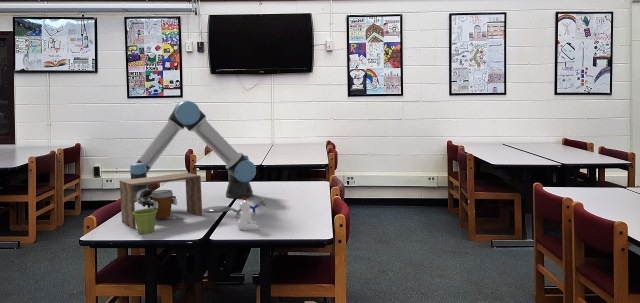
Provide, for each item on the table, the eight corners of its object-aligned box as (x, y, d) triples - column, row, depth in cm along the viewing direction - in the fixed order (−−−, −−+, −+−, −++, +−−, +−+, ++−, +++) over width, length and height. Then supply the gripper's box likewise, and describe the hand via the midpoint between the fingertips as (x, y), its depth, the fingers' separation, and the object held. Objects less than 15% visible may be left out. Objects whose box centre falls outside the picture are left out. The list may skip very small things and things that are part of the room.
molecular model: (267, 213, 220) (264, 192, 220) (271, 213, 212) (268, 191, 213) (230, 220, 214) (227, 199, 214) (233, 220, 206) (229, 198, 207)
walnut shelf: (122, 222, 206) (119, 180, 204) (188, 210, 227) (187, 172, 226) (133, 228, 196) (130, 184, 194) (202, 215, 217) (200, 175, 215)
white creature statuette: (260, 230, 189) (259, 201, 188) (239, 232, 186) (238, 203, 185) (255, 225, 198) (254, 197, 196) (235, 227, 195) (234, 199, 194)
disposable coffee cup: (167, 220, 206) (165, 193, 205) (148, 219, 208) (146, 193, 207) (178, 215, 215) (176, 189, 214) (159, 214, 217) (158, 189, 216)
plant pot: (136, 236, 183) (135, 215, 182) (131, 231, 191) (130, 210, 190) (160, 232, 188) (159, 212, 187) (155, 227, 196) (154, 207, 195)
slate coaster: (231, 205, 237) (231, 205, 237) (231, 211, 224) (231, 211, 224) (203, 207, 235) (203, 206, 235) (201, 213, 221) (201, 213, 221)
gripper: (168, 201, 232) (189, 208, 215) (125, 208, 218) (144, 215, 201) (167, 186, 231) (188, 192, 214) (124, 192, 217) (142, 199, 200)
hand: (166, 203), depth 207 cm, fingers closed on disposable coffee cup, 8 cm apart
